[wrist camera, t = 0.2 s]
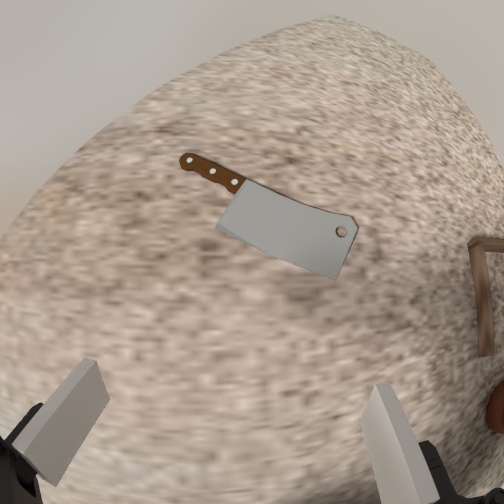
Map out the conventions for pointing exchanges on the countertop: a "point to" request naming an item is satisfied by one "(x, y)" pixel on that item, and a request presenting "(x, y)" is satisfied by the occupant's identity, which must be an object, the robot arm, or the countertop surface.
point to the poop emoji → (496, 410)
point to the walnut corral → (483, 290)
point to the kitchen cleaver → (278, 222)
